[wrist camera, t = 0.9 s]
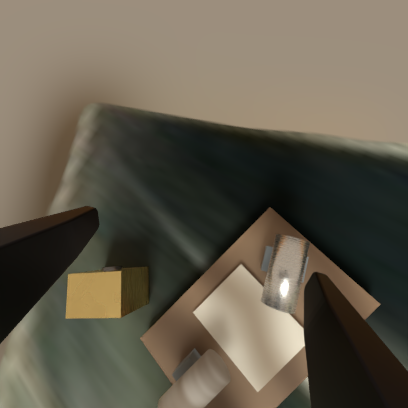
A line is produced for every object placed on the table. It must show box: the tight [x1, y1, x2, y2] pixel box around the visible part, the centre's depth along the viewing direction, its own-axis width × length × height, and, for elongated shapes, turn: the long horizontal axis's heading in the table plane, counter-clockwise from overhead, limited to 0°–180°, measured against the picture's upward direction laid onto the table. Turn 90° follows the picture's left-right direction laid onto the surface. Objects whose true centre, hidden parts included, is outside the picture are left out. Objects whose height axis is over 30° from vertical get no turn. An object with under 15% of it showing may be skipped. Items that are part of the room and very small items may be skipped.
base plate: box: [140, 207, 380, 408], centre depth 17 cm, size 17×11×6 cm, turn 134°
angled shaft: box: [261, 234, 310, 314], centre depth 17 cm, size 5×3×4 cm, turn 164°
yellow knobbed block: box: [66, 266, 149, 318], centre depth 21 cm, size 4×5×5 cm
